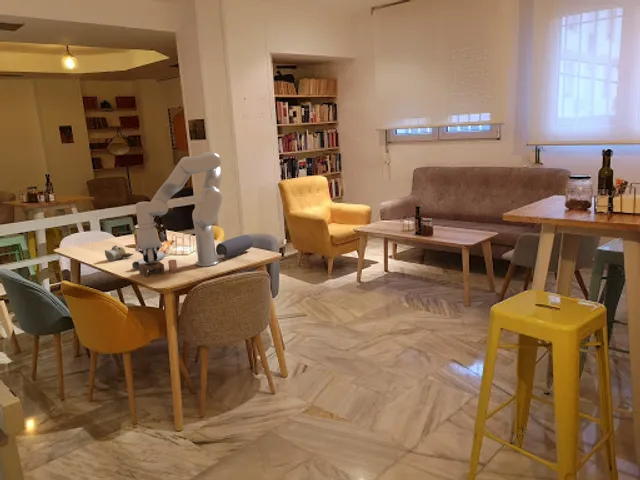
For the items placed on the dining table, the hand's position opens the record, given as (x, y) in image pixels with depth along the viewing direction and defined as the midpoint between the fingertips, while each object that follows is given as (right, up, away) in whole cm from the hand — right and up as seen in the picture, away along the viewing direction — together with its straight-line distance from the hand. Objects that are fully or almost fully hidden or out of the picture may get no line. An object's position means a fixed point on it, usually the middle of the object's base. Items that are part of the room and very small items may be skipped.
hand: (150, 260), depth 261 cm
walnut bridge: (0, -7, +1) cm, 7 cm away
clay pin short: (+11, -6, +3) cm, 13 cm away
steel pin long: (0, -5, +1) cm, 5 cm away
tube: (-7, -3, +21) cm, 22 cm away
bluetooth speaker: (+39, +2, +29) cm, 49 cm away
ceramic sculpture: (-30, -1, +35) cm, 46 cm away
